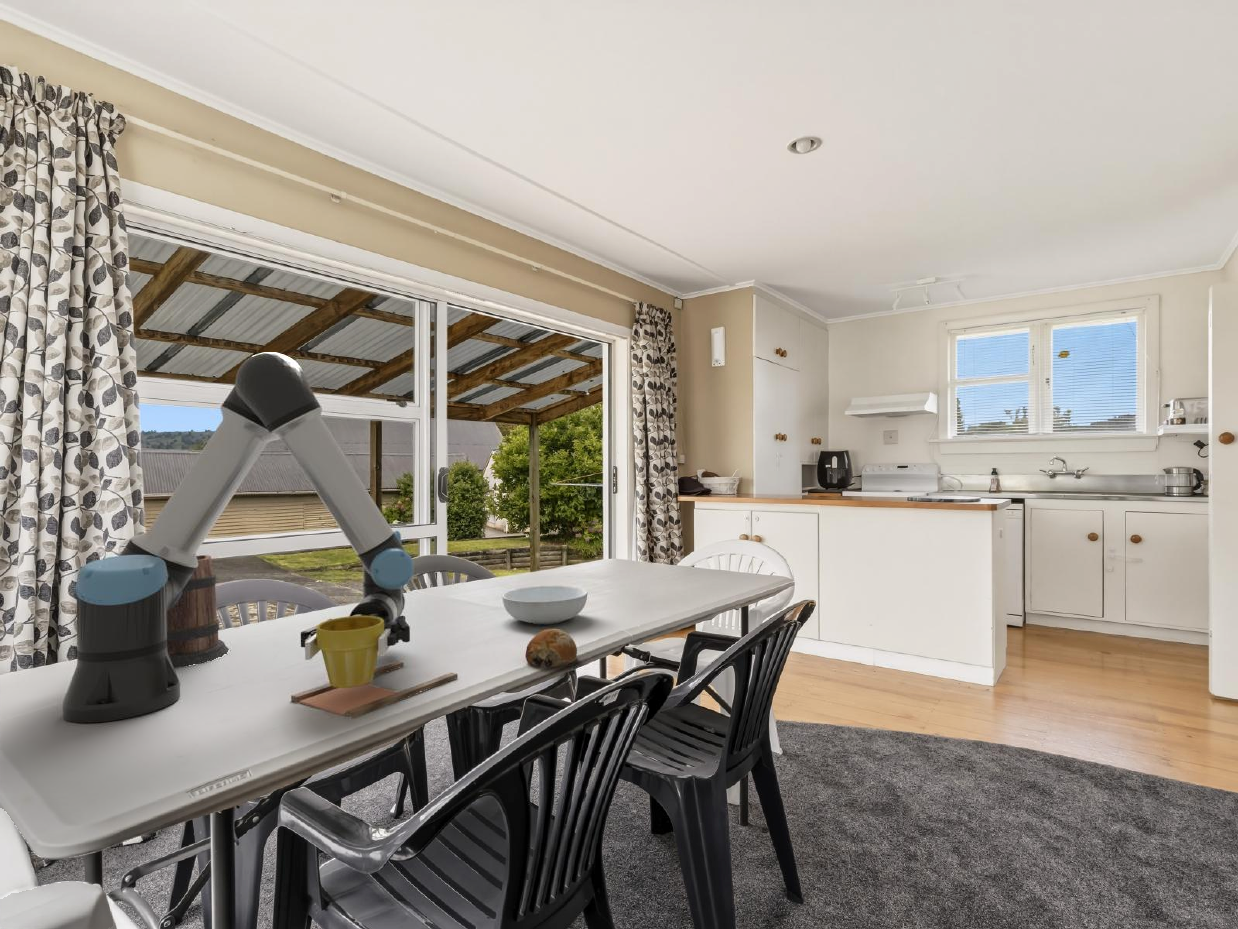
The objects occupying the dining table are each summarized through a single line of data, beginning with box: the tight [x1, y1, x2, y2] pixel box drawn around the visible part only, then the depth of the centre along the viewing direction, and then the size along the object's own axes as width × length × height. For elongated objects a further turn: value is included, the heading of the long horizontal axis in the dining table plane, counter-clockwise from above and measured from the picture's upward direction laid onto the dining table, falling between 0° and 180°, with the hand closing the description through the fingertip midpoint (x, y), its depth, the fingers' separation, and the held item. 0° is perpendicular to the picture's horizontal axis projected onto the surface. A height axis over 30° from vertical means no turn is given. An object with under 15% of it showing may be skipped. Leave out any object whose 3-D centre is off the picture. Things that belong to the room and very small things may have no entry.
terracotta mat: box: [299, 683, 398, 716], centre depth 110 cm, size 11×11×1 cm
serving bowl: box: [501, 585, 588, 625], centre depth 165 cm, size 21×21×7 cm
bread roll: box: [525, 628, 578, 668], centre depth 131 cm, size 10×10×8 cm
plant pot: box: [316, 615, 384, 688], centre depth 110 cm, size 10×10×10 cm
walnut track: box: [290, 660, 459, 719], centre depth 115 cm, size 22×16×1 cm
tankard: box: [167, 554, 230, 669], centre depth 138 cm, size 24×17×20 cm
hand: (344, 649), depth 106 cm, fingers closed on plant pot, 10 cm apart
